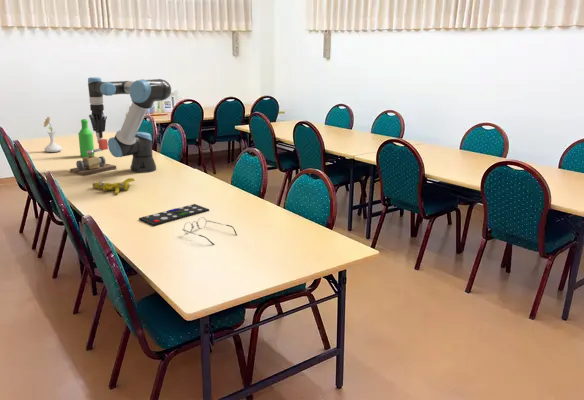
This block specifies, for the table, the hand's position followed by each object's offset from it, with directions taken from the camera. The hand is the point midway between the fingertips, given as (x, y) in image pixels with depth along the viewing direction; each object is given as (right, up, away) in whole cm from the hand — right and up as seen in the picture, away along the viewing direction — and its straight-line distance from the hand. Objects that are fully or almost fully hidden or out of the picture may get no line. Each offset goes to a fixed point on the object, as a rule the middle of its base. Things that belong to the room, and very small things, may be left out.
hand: (100, 142), depth 307 cm
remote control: (+64, -43, -78) cm, 110 cm away
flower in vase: (-49, -2, +44) cm, 66 cm away
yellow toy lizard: (+22, -29, -40) cm, 54 cm away
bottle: (-21, -6, +33) cm, 40 cm away
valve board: (-2, -17, -4) cm, 18 cm away
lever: (0, -6, -4) cm, 7 cm away
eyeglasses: (+84, -50, -101) cm, 140 cm away
